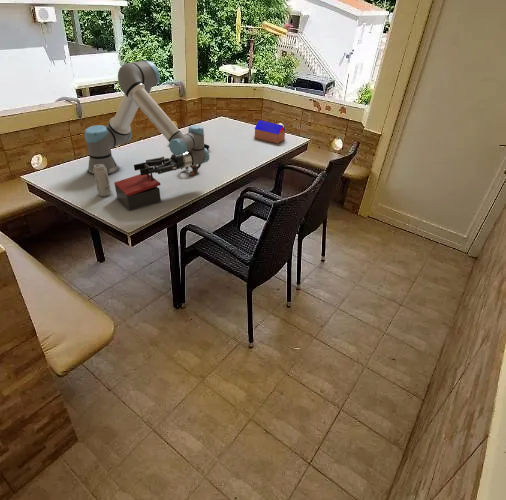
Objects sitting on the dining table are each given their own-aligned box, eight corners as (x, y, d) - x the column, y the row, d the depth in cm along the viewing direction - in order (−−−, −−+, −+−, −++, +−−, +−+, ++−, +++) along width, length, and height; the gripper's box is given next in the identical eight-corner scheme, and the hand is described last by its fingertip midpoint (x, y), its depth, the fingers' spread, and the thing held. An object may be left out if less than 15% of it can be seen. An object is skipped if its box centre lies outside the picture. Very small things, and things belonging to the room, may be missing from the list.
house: (277, 143, 251) (278, 127, 245) (253, 137, 260) (254, 121, 253) (285, 139, 260) (286, 123, 253) (262, 134, 268) (263, 118, 261)
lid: (146, 174, 176) (143, 160, 171) (160, 185, 167) (157, 170, 162) (114, 184, 168) (110, 170, 163) (127, 196, 159) (123, 181, 154)
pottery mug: (187, 177, 196) (181, 164, 193) (183, 178, 204) (176, 165, 202) (205, 169, 200) (199, 155, 197) (200, 170, 208) (194, 157, 206)
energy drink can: (109, 197, 172) (103, 168, 163) (97, 196, 172) (90, 168, 163) (112, 191, 177) (107, 163, 168) (100, 191, 176) (94, 163, 168)
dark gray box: (147, 190, 181) (145, 177, 176) (160, 201, 171) (159, 188, 167) (117, 197, 172) (114, 184, 168) (129, 210, 163) (127, 196, 159)
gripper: (191, 174, 172) (147, 184, 160) (172, 161, 184) (130, 170, 172) (190, 159, 168) (145, 169, 156) (171, 147, 180) (127, 156, 167)
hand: (137, 170), depth 164 cm, fingers closed on lid, 6 cm apart
